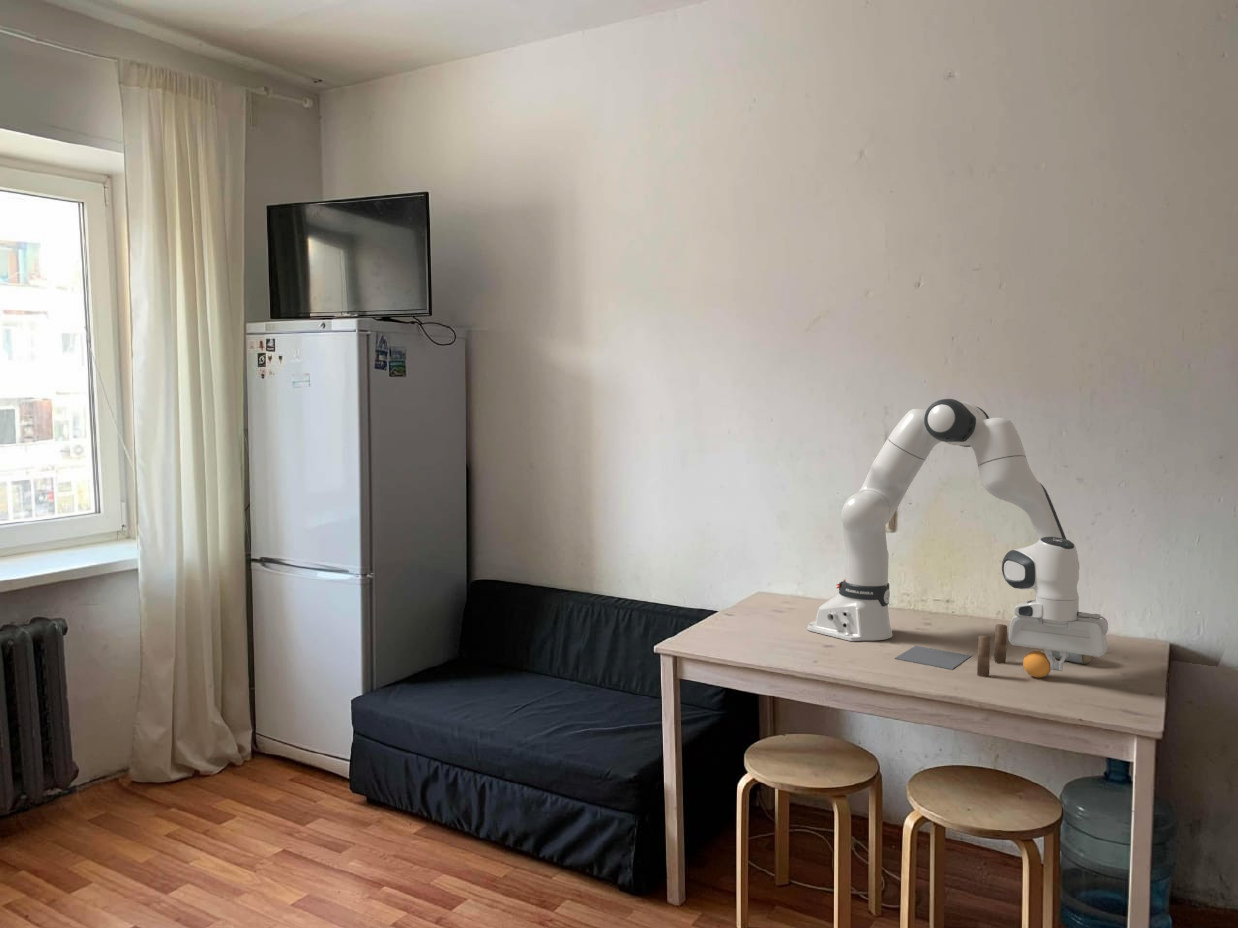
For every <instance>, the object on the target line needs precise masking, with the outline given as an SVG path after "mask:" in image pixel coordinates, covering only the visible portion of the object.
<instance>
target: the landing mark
mask: <svg viewBox="0 0 1238 928" xmlns="http://www.w3.org/2000/svg"><path fill="white" fill-rule="evenodd" d="M970 656H971V657H972V655H971V654H965V653H964V654H963V653H960V652H954V651H948V650H941V649H937V648H930V647H925V646H921V645H920V646H919V645H914V646H912V647H911V648H909V649H907V650H906V651H904V652H903V653H901V654H899V655H898V656H896V657H894V660H899V661H903V662H910V663H915V664H921V665H925V666H931V667H934V668H935V667H936V668H940V669H947V670H954V669H955V668H957V667H958V666H959V664H960V665H961V664H962V663H964V662H965V661H967V660H968V659H970V658H971V657H970ZM969 657H970V658H969ZM966 659H967V660H966ZM963 661H964V662H963Z"/></svg>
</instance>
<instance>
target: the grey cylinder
mask: <svg viewBox="0 0 1238 928" xmlns="http://www.w3.org/2000/svg"><path fill="white" fill-rule="evenodd" d="M1052 656H1053V658H1054V659H1059V660H1061V658H1062V656H1060V652H1059V651H1054V653H1053V654H1052ZM1093 658H1094V656H1090V655H1082V654H1075V653H1068V657H1067V658H1066V659H1065V662H1066V661H1067V662H1073V663H1076V664H1081V665H1082V664H1083V665H1086V664H1089V663H1090V662H1091V661H1092V660H1093Z"/></svg>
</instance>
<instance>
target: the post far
mask: <svg viewBox="0 0 1238 928" xmlns="http://www.w3.org/2000/svg"><path fill="white" fill-rule="evenodd" d="M994 630H995V631H994V633H995V634H994V635H995V636H994V659H993V662H994V661H995V662H994V663H996V662H997V664H1000V663H1004V664H1007V642H1008V641H1007V640H1008V639H1007V637H1008V636H1007V635H1008V625H1006V624H1002V623H1001V624H1000V623H996V624H995V629H994Z"/></svg>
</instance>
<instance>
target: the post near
mask: <svg viewBox="0 0 1238 928" xmlns="http://www.w3.org/2000/svg"><path fill="white" fill-rule="evenodd" d="M977 640H978V641H977V642H978V643H977V668H976V669H977V670H976V671H977V672H976V676H979V677H984V678H986V677H987V678H988V677H990V666H991V665H990V663H991V662H990V661H991V636H989V635H979V636H978V639H977Z"/></svg>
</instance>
